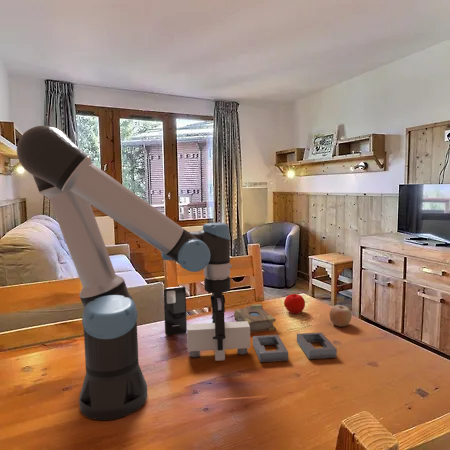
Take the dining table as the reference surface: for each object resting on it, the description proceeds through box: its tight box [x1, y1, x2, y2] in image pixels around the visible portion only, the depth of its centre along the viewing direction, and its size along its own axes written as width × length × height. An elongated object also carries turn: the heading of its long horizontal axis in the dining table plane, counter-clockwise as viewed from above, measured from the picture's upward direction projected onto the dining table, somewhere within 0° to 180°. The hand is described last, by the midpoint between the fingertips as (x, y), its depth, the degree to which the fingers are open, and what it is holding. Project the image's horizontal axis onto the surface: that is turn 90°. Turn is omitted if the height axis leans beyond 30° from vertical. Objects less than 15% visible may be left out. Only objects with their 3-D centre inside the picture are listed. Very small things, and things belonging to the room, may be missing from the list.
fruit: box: [329, 302, 353, 328], centre depth 124 cm, size 8×7×8 cm
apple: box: [283, 293, 306, 315], centre depth 137 cm, size 8×8×7 cm
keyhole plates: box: [252, 331, 338, 363], centre depth 106 cm, size 22×12×2 cm, turn 96°
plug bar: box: [186, 321, 251, 358], centre depth 104 cm, size 18×4×8 cm, turn 96°
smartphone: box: [163, 286, 188, 336], centre depth 118 cm, size 7×1×16 cm, turn 107°
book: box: [233, 303, 277, 334], centre depth 127 cm, size 15×11×5 cm
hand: (218, 352), depth 104 cm, fingers open, 9 cm apart
